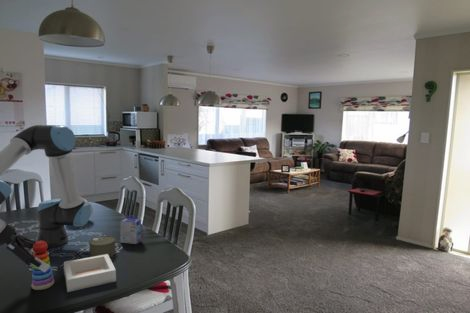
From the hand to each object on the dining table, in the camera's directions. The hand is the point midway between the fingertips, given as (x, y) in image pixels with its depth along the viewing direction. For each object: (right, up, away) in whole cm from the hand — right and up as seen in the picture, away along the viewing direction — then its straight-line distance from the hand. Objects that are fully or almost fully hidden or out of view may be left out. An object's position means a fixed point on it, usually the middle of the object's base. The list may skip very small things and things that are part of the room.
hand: (47, 262), depth 131 cm
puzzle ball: (-24, 0, +80) cm, 83 cm away
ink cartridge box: (+18, -5, +48) cm, 52 cm away
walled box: (+13, -9, +8) cm, 18 cm away
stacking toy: (-2, -10, 0) cm, 10 cm away
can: (+9, -6, +32) cm, 34 cm away
